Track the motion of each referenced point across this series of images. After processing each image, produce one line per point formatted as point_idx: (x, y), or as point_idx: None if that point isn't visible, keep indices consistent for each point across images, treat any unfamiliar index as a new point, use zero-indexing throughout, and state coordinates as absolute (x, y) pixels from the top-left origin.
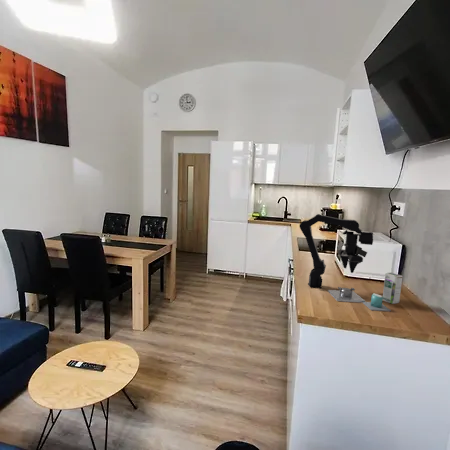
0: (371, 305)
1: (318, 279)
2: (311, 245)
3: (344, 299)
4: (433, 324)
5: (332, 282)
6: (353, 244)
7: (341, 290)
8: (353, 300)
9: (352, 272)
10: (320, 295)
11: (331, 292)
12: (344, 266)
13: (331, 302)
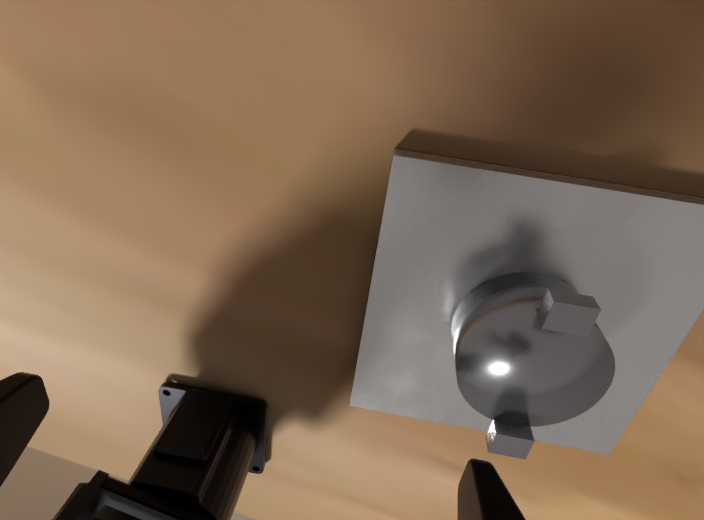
0: None
1: (228, 498)
2: None
3: (636, 406)
4: None
5: (19, 196)
6: None
7: (531, 420)
8: (682, 333)
9: (491, 485)
10: (448, 481)
11: (427, 413)
12: (10, 450)
13: (613, 484)
